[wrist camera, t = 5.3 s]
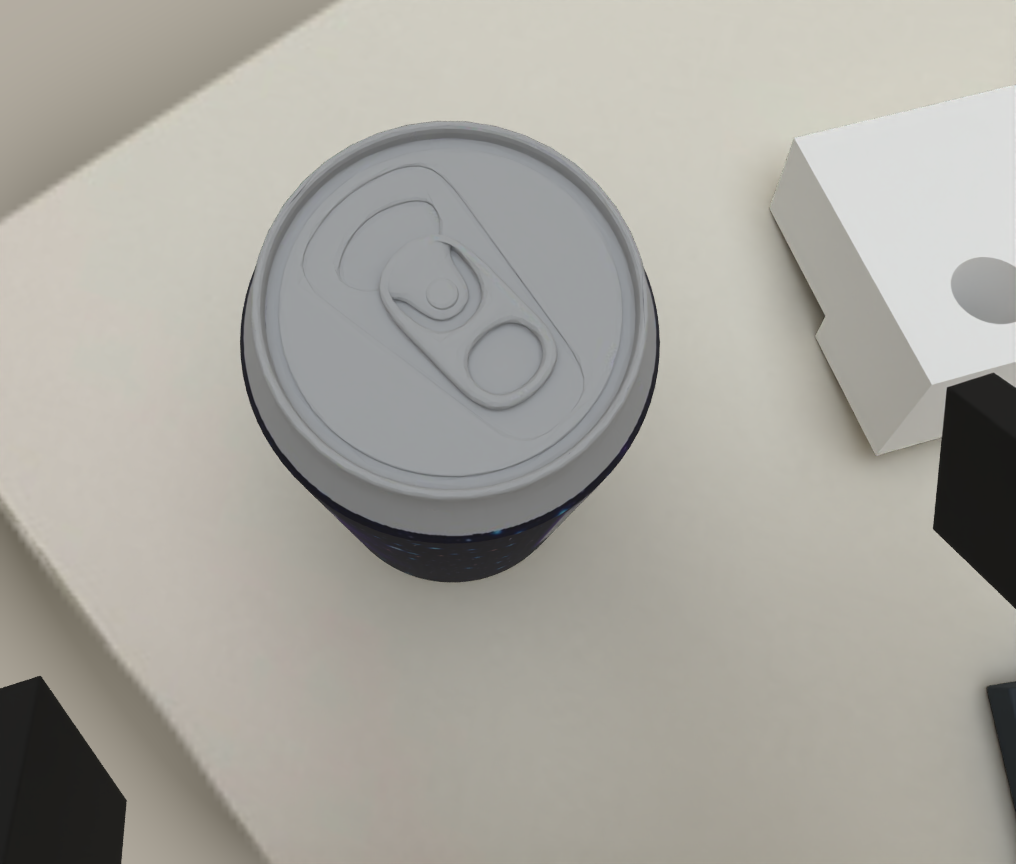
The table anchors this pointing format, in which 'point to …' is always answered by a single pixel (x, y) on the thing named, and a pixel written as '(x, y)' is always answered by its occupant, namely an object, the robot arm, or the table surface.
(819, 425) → the table surface
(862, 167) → the bracket
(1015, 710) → the desk pad
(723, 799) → the table surface
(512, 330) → the beverage can
